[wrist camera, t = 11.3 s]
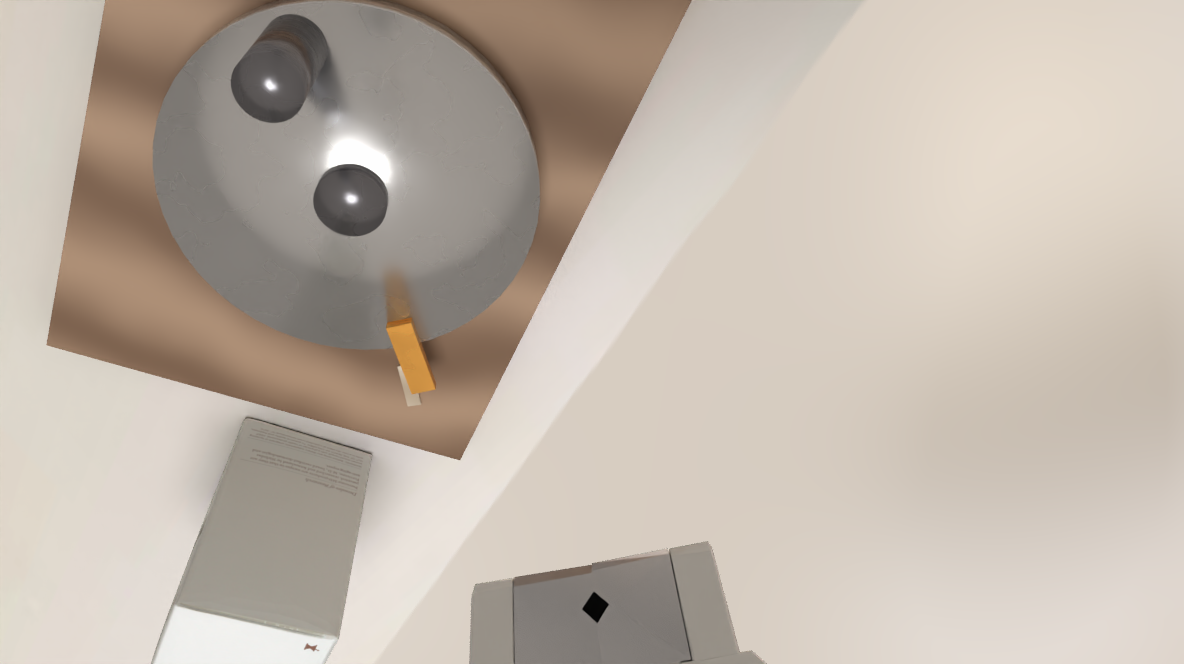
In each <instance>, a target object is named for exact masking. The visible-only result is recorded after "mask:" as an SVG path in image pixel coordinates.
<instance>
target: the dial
mask: <svg viewBox="0 0 1184 664" xmlns="http://www.w3.org/2000/svg"><path fill="white" fill-rule="evenodd" d="M153 173H154V180H155V187H156V192H157V196H158V199H159V203H160V206H161V210H162V213H163V215H164V218H165V220H166V222H167V224H168V227H169V229H170V231H171V233H172V236H173V237H174V239H175V240H176V242H177V244H178V245H179V247H180V249H181V250H182V252H183V254H184V255H185V257H186V258H187V259H188V260H189V262H190V263H191V264H192V266H193V267H194V268H195V269H196V271H197V272H198V273H199V274H200V275H201V276H202V277H203V278H204V279H205V281H206V282H207V283H208V284H209V285H210V286H211V287H212V288H213V289H214V290H215V291H216V292H218V293H219V294H220V295H221V296H223V297H224V298H225V299H226V300H228V301H229V302H230V303H231V304H232V305H234V306H235V307H237V308H238V309H240V310H241V311H243V312H244V313H246V314H247V315H249V316H250V317H252V318H254V319H255V320H257V321H259V322H261V323H263V324H265V325H267V326H269V327H271V328H273V329H275V330H277V331H280V332H282V333H285V334H288V335H290V336H293V337H295V338H298V339H302V340H305V341H309V342H313V343H316V344H320V345H326V346H332V347H338V348H346V349H362V350H370V349H389V348H394V350H395V353H396V355H397V358H398V361H399V363H400V366H401V368H402V371H403V373H404V376H405V378H406V381H407V384H408V386H409V389H410V391H411V394H416V393H421V392H426V391H431V390H436V381H435V379H434V376H433V373H432V371H431V368H430V365H429V362H428V360H427V357H426V354H425V352H424V349H423V346H422V343H421V342H424V341H428V340H431V339H434V338H436V337H439V336H441V335H444V334H446V333H449V332H451V331H453V330H455V329H456V328H458V327H460V326H462V325H464V324H466V323H468V322H469V321H471V320H472V319H473V318H475V317H476V316H478V315H479V314H480V313H482V312H483V311H485V310H486V309H487V308H488V307H489V306H490V305H491V304H492V303H493V302H494V301H495V300H496V299H498V298H499V297H500V296H501V294H502V293H503V292H504V291H505V290H506V288H507V287H508V286H509V285H510V283H511V282H512V281H513V280H514V278H515V276H516V275H517V273H518V271H519V270H520V268H521V266H522V265H523V263H524V261H525V259H526V256H527V254H528V252H529V249H530V247H531V245H532V242H533V238H534V234H535V231H536V227H537V223H538V214H539V206H540V183H539V170H538V162H537V156H536V150H535V144H534V141H533V138H532V135H531V131H530V128H529V125H528V122H527V120H526V118H525V115H524V113H523V111H522V109H521V107H520V105H519V103H518V100H517V99H516V97H515V96H514V94H513V93H512V91H511V89H510V88H509V86H508V85H507V83H506V82H505V80H504V79H503V77H502V76H501V75H500V74H499V73H498V71H497V70H496V69H495V68H494V67H493V65H492V64H491V63H490V62H489V61H488V60H487V59H486V58H485V57H484V56H483V55H482V54H481V53H480V52H479V51H478V50H477V49H476V48H474V47H473V46H472V45H471V44H470V43H469V42H468V41H467V40H465V39H464V38H462V37H461V36H460V35H458V34H457V33H455V32H454V31H453V30H451V29H450V28H448V27H447V26H445V25H444V24H442V23H440V22H438V21H436V20H434V19H433V18H431V17H429V16H427V15H425V14H423V13H421V12H419V11H416V10H414V9H411V8H409V7H406V6H403V5H401V4H398V3H395V2H391V1H388V0H277V1H273V2H270V3H267V4H263V5H261V6H259V7H257V8H255V9H253V10H250V11H248V12H246V13H244V14H242V15H240V16H238V17H237V18H235V19H234V20H232V21H231V22H229V23H228V24H226V25H225V26H223V27H222V28H221V29H219V30H218V31H217V32H216V33H215V34H214V35H213V36H212V37H211V38H209V39H208V40H207V41H206V42H205V43H204V44H203V45H202V46H201V47H200V48H199V49H198V50H197V51H196V52H195V53H194V54H193V55H192V56H191V58H190V59H189V60H188V61H187V63H186V64H185V65H184V67H183V68H182V69H181V71H180V72H179V73H178V74H177V76H176V77H175V79H174V81H173V83H172V85H171V86H170V88H169V90H168V92H167V94H166V96H165V98H164V100H163V103H162V106H161V109H160V112H159V115H158V118H157V122H156V128H155V134H154V140H153Z"/></svg>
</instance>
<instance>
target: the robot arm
mask: <svg viewBox="0 0 1184 664" xmlns="http://www.w3.org/2000/svg"><path fill="white" fill-rule="evenodd" d="M470 631H471V632H470V661H469V664H767V663H765V662H764V661H763V660H762V659H761V658H760V657H759V656H758V655H756V654H755V653H754V652H753V651H745V652H740V651H739V647H738V644H737V640H736V636H735V633H734V629H733V625H732V621H731V618H730V614H729V610H728V606H727V602H726V599H725V595H724V591H723V588H722V584H721V580H720V576H719V572H718V569H717V565H716V561H715V558H714V553H713V550H712V547H711V546H710V544H709V542H708V541H707V542H701V543H696V544H691V545H686V546H680V547H675V548H670V549H669V551H668V548H667V549H662V550H657V551H652V552H647V553H642V554H637V555H632V556H627V557H622V558H617V559H612V560H607V561H602V562H597V563H592V565H588V566H582V567H575V568H569V569H563V570H556V571H550V572H545V573H538V574H532V575H526V576H519V577H515V578H509V579H503V580H498V581H492V582H486V583H480V584H475V587H474V590H473V593H472V599H471V630H470Z"/></svg>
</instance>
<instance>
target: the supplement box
mask: <svg viewBox="0 0 1184 664" xmlns="http://www.w3.org/2000/svg"><path fill="white" fill-rule="evenodd" d="M371 460H372V455H371V454H368V453H365V452H362V451H359V450H355V449H352V448H349V447H346V446H343V445H339V444H336V443H332V442H329V441H326V440H323V439H319V438H316V437H313V436H310V435H306V434H303V433H300V432H296V431H292V430H289V429H286V428H283V427H279V426H276V425H272V424H269V423H266V422H262V421H258V420H254V419H250V418H247V419H245V420H244V421H243V424H242V426H241V429H240V431H239V434H238V436H237V439H236V441H235V444H234V446H233V449H232V451H231V454H230V456H229V459H228V461H227V464H226V466H225V469H224V471H223V474H222V476H221V479H220V481H219V484H218V486H217V489H216V491H215V494H214V496H213V499H212V501H211V504H210V507H209V509H208V512H207V514H206V517H205V519H204V522H203V524H202V527H201V529H200V532H199V534H198V537H197V540H196V542H195V545H194V547H193V550H192V553H191V555H190V558H189V560H188V563H187V566H186V568H185V571H184V574H183V576H182V579H181V581H180V584H179V587H178V589H177V592H176V595H175V597H174V600H173V602H172V605H171V608H170V610H169V613H168V616H167V619H166V621H165V624H164V627H163V630H162V633H161V635H160V638H159V641H158V644H157V647H156V650H155V653H154V656H153V659H152V662H151V664H325V663H326V661H327V659H328V658H329V656H330V654H331V652H332V650H333V648H334V646H335V645H336V643H337V641H338V639H339V635H340V629H341V624H342V618H343V613H344V607H345V602H346V596H347V591H348V585H349V580H350V575H351V569H352V563H353V558H354V552H355V547H356V542H357V536H358V530H359V525H360V520H361V514H362V508H363V503H364V497H365V492H366V487H367V481H368V475H369V470H370V465H371Z"/></svg>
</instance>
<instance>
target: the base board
mask: <svg viewBox="0 0 1184 664" xmlns="http://www.w3.org/2000/svg"><path fill="white" fill-rule="evenodd" d="M273 1H277V0H105V5H104V11H103V17H102V23H101V29H100V35H99V41H98V46H97V52H96V58H95V64H94V70H93V76H92V82H91V87H90V93H89V99H88V105H87V111H86V117H85V123H84V129H83V134H82V140H81V146H80V152H79V158H78V164H77V170H76V175H75V181H74V187H73V193H72V199H71V205H70V211H69V216H68V222H67V228H66V234H65V240H64V246H63V252H62V257H61V263H60V269H59V275H58V281H57V287H56V293H55V298H54V304H53V310H52V316H51V322H50V328H49V334H48V339H47V345H48V346H51V347H55V348H59V349H62V350H66V351H69V352H73V353H77V354H80V355H84V356H87V357H91V358H95V359H98V360H102V361H105V362H109V363H112V364H116V365H120V366H123V367H127V368H130V369H134V370H138V371H141V372H145V373H148V374H152V375H156V376H159V377H163V378H166V379H170V380H174V381H177V382H181V383H184V384H188V385H192V386H195V387H199V388H202V389H206V390H210V391H213V392H217V393H220V394H224V395H227V396H231V397H235V398H238V399H242V400H245V401H249V402H253V403H256V404H260V405H263V406H267V407H271V408H274V409H278V410H281V411H285V412H289V413H292V414H296V415H299V416H303V417H307V418H310V419H314V420H317V421H321V422H324V423H328V424H332V425H335V426H339V427H342V428H346V429H350V430H353V431H357V432H360V433H364V434H368V435H371V436H375V437H378V438H382V439H386V440H389V441H393V442H396V443H400V444H404V445H407V446H411V447H414V448H418V449H422V450H425V451H429V452H432V453H436V454H439V455H443V456H447V457H450V458H454V459H457V460H460V459H461V457H462V455H463V453H464V451H465V449H466V447H467V445H468V443H469V441H470V439H471V437H472V435H473V433H474V431H475V429H476V427H477V425H478V423H479V421H480V419H481V417H482V415H483V413H484V412H485V410H486V408H487V406H488V404H489V402H490V400H491V398H492V396H493V394H494V392H495V390H496V388H497V386H498V384H499V382H500V380H501V378H502V376H503V374H504V372H505V370H506V368H507V366H508V364H509V362H510V360H511V358H512V356H513V354H514V352H515V350H516V348H517V346H518V344H519V342H520V340H521V338H522V336H523V334H524V332H525V330H526V328H527V326H528V324H529V322H530V320H531V318H532V316H533V314H534V312H535V310H536V308H537V306H538V304H539V302H540V300H541V298H542V296H543V294H544V292H545V290H546V288H547V286H548V284H549V282H550V280H551V278H552V276H553V275H554V273H555V271H556V269H557V267H558V265H559V263H560V261H561V259H562V257H563V255H564V253H565V251H566V249H567V247H568V245H569V243H570V241H571V239H572V237H573V235H574V233H575V231H576V229H577V227H578V225H579V223H580V221H581V219H582V217H583V215H584V213H585V211H586V209H587V207H588V205H589V203H590V201H591V199H592V197H593V195H594V193H595V191H596V189H597V187H598V185H599V183H600V181H601V179H602V177H603V175H604V173H605V171H606V169H607V167H608V165H609V163H610V161H611V159H612V157H613V155H614V153H615V151H616V149H617V147H618V145H619V143H620V141H621V139H622V137H623V136H624V134H625V132H626V130H627V128H628V126H629V124H630V122H631V120H632V118H633V116H634V114H635V112H636V110H637V108H638V106H639V104H640V102H641V100H642V98H643V96H644V94H645V92H646V90H647V88H648V86H649V84H650V82H651V80H652V78H653V76H654V74H655V72H656V70H657V68H658V66H659V64H660V62H661V60H662V58H663V56H664V54H665V52H666V50H667V48H668V46H669V44H670V42H671V40H672V38H673V36H674V34H675V32H676V30H677V28H678V26H679V24H680V22H681V20H682V18H683V16H684V14H685V12H686V10H687V8H688V6H689V4H690V2H691V0H388V1H391V2H395V3H398V4H401V5H403V6H406V7H409V8H411V9H414V10H416V11H419V12H421V13H423V14H425V15H427V16H429V17H431V18H433V19H434V20H436V21H438V22H440V23H442V24H444V25H445V26H447V27H448V28H450V29H451V30H453V31H454V32H455V33H457V34H458V35H460V36H461V37H462V38H464V39H465V40H467V41H468V42H469V43H470V44H471V45H472V46H473V47H474V48H476V49H477V50H478V51H479V52H480V53H481V54H482V55H483V56H484V57H485V58H486V59H487V60H488V61H489V62H490V63H491V64H492V65H493V67H494V68H495V69H496V70H497V71H498V73H499V74H500V75H501V76H502V77H503V79H504V80H505V82H506V83H507V85H508V86H509V88H510V89H511V91H512V93H513V94H514V96H515V97H516V99H517V100H518V103H519V105H520V107H521V109H522V111H523V113H524V115H525V118H526V120H527V122H528V125H529V128H530V131H531V135H532V138H533V141H534V144H535V150H536V156H537V162H538V170H539V183H540V206H539V214H538V223H537V227H536V231H535V234H534V238H533V242H532V245H531V247H530V249H529V252H528V254H527V256H526V259H525V261H524V263H523V265H522V266H521V268H520V270H519V271H518V273H517V275H516V276H515V278H514V280H513V281H512V282H511V283H510V285H509V286H508V287H507V288H506V290H505V291H504V292H503V293H502V294H501V296H500V297H499V298H498V299H496V300H495V301H494V302H493V303H492V304H491V305H490V306H489V307H488V308H487V309H486V310H485V311H483V312H482V313H480V314H479V315H478V316H476V317H475V318H473V319H472V320H471V321H469V322H468V323H466V324H464V325H462V326H460V327H458V328H456V329H455V330H453V331H451V332H449V333H446V334H444V335H441V336H439V337H436V338H434V339H431V340H428V341H424V342H421V343H422V346H423V349H424V352H425V354H426V357H427V360H428V362H429V365H430V368H431V371H432V373H433V376H434V379H435V381H436V390H431V391H426V392H421V393H416V394H411V391H410V389H409V386H408V384H407V381H406V378H405V376H404V373H403V371H402V368H401V366H400V363H399V361H398V358H397V355H396V353H395V350H394V348H389V349H370V350H362V349H346V348H338V347H332V346H326V345H320V344H316V343H313V342H309V341H305V340H302V339H298V338H295V337H293V336H290V335H288V334H285V333H282V332H280V331H277V330H275V329H273V328H271V327H269V326H267V325H265V324H263V323H261V322H259V321H257V320H255V319H254V318H252V317H250V316H249V315H247V314H246V313H244V312H243V311H241V310H240V309H238V308H237V307H235V306H234V305H232V304H231V303H230V302H229V301H228V300H226V299H225V298H224V297H223V296H221V295H220V294H219V293H218V292H216V291H215V290H214V289H213V288H212V287H211V286H210V285H209V284H208V283H207V282H206V281H205V279H204V278H203V277H202V276H201V275H200V274H199V273H198V272H197V271H196V269H195V268H194V267H193V266H192V264H191V263H190V262H189V260H188V259H187V258H186V257H185V255H184V254H183V252H182V250H181V249H180V247H179V245H178V244H177V242H176V240H175V239H174V237H173V236H172V233H171V231H170V229H169V227H168V224H167V222H166V220H165V218H164V215H163V213H162V210H161V206H160V203H159V199H158V196H157V192H156V187H155V180H154V173H153V140H154V134H155V128H156V122H157V118H158V115H159V112H160V109H161V106H162V103H163V100H164V98H165V96H166V94H167V92H168V90H169V88H170V86H171V85H172V83H173V81H174V79H175V77H176V76H177V74H178V73H179V72H180V71H181V69H182V68H183V67H184V65H185V64H186V63H187V61H188V60H189V59H190V58H191V56H192V55H193V54H194V53H195V52H196V51H197V50H198V49H199V48H200V47H201V46H202V45H203V44H204V43H205V42H206V41H207V40H208V39H209V38H211V37H212V36H213V35H214V34H215V33H216V32H217V31H218V30H219V29H221V28H222V27H223V26H225V25H226V24H228V23H229V22H231V21H232V20H234V19H235V18H237V17H238V16H240V15H242V14H244V13H246V12H248V11H250V10H253V9H255V8H257V7H259V6H261V5H263V4H267V3H270V2H273Z"/></svg>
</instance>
